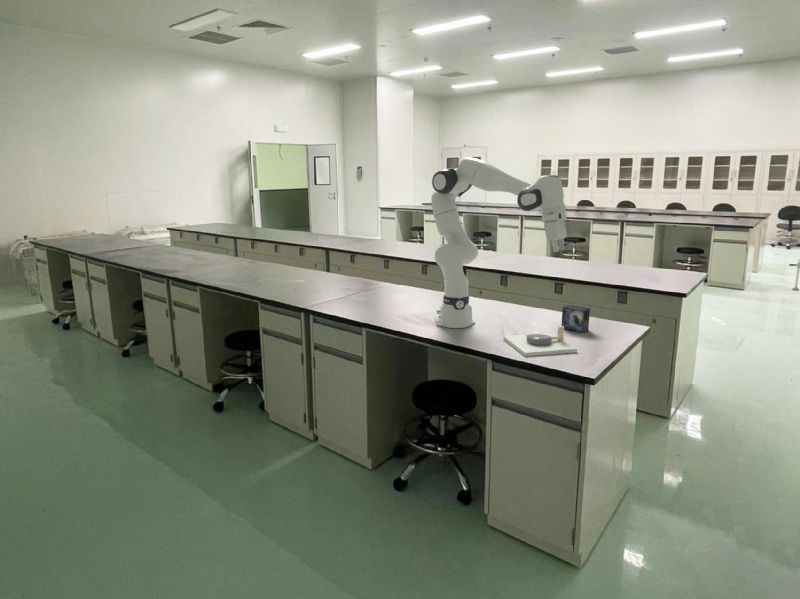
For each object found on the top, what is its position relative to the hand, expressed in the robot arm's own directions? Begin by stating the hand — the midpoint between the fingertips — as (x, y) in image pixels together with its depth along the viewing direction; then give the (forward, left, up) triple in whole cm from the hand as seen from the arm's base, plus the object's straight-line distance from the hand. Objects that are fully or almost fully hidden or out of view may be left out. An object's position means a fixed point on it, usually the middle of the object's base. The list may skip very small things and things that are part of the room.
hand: (558, 250), depth 206 cm
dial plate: (0, -6, -39) cm, 40 cm away
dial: (0, -4, -37) cm, 37 cm away
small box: (-18, +20, -39) cm, 48 cm away
